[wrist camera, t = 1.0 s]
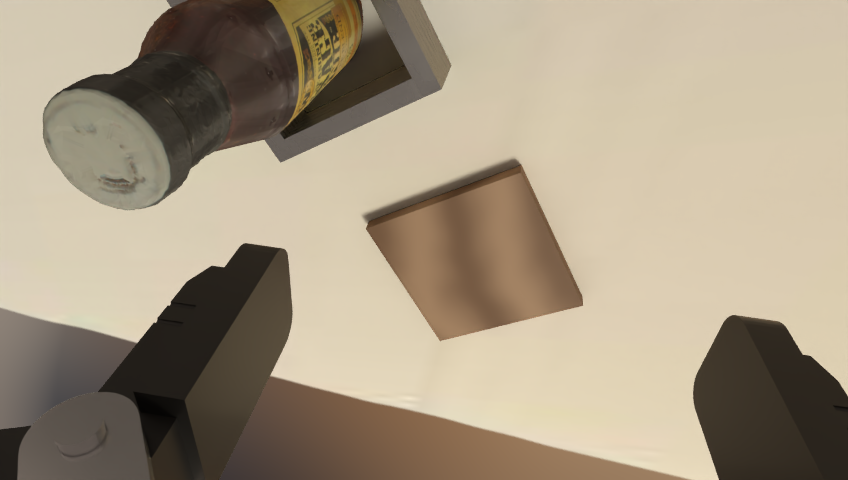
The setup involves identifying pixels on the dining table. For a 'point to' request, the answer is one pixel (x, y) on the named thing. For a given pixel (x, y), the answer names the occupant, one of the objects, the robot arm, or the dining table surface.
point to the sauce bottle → (197, 93)
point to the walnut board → (478, 256)
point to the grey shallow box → (373, 82)
